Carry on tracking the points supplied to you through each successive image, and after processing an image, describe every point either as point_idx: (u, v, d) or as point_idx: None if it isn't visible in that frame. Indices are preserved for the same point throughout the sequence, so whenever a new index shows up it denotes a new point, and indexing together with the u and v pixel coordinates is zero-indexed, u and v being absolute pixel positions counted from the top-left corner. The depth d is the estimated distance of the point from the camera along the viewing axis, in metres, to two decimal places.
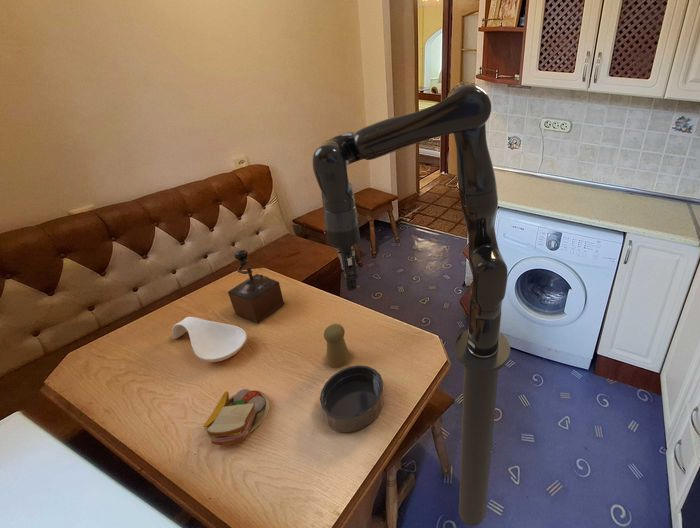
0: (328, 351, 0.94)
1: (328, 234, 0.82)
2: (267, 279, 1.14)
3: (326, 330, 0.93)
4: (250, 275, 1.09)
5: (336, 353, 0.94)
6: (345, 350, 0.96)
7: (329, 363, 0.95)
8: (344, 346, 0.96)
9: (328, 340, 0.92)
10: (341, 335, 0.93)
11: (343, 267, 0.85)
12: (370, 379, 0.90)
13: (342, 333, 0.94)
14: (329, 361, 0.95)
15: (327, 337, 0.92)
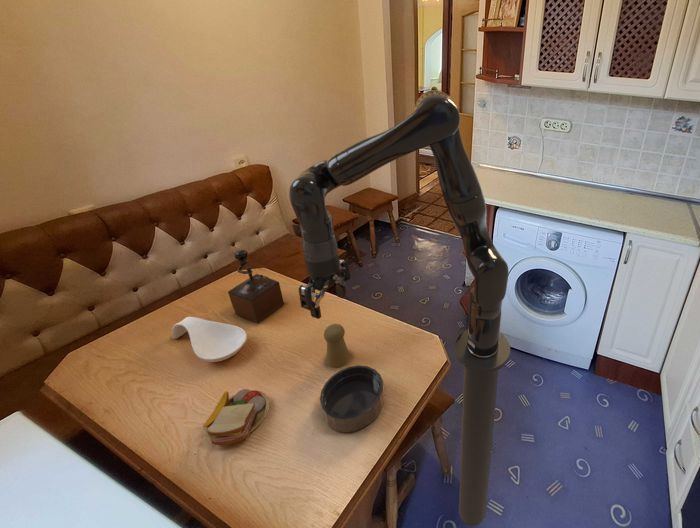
0: (328, 351, 0.94)
1: None
2: (267, 279, 1.14)
3: (326, 330, 0.93)
4: (250, 275, 1.09)
5: (336, 353, 0.94)
6: (345, 350, 0.96)
7: (329, 363, 0.95)
8: (344, 346, 0.96)
9: (328, 340, 0.92)
10: (341, 335, 0.93)
11: None
12: (370, 379, 0.90)
13: (342, 333, 0.94)
14: (329, 361, 0.95)
15: (327, 337, 0.92)
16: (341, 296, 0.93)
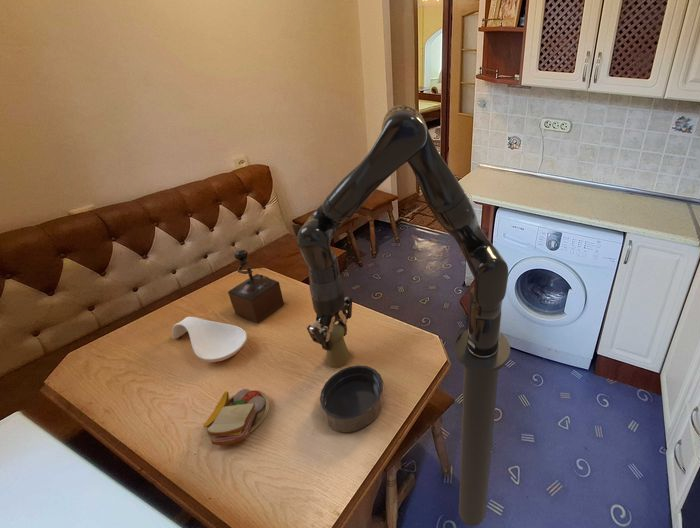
0: (328, 351, 0.94)
1: None
2: (267, 279, 1.14)
3: None
4: (250, 275, 1.09)
5: (336, 353, 0.94)
6: (345, 350, 0.96)
7: (329, 363, 0.95)
8: (344, 346, 0.96)
9: None
10: (341, 335, 0.93)
11: (319, 328, 0.91)
12: (370, 379, 0.90)
13: (342, 333, 0.94)
14: (329, 361, 0.95)
15: None
16: None
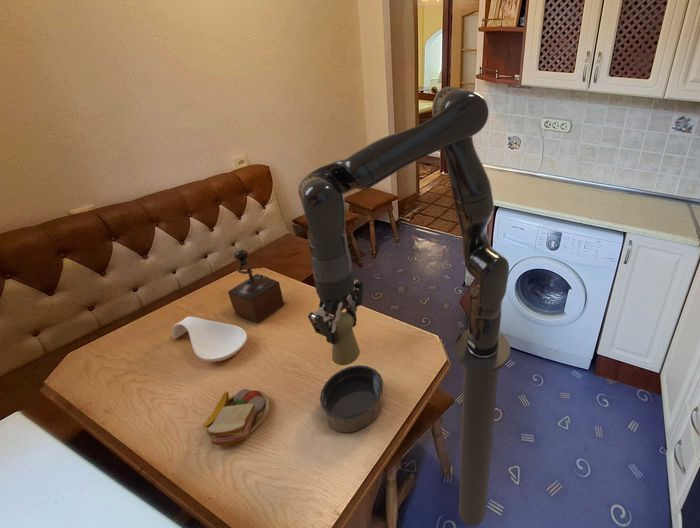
0: (334, 345, 0.78)
1: None
2: (267, 279, 1.14)
3: None
4: (250, 275, 1.09)
5: (344, 348, 0.77)
6: (354, 344, 0.80)
7: (335, 360, 0.79)
8: (353, 339, 0.79)
9: None
10: (350, 325, 0.76)
11: (323, 317, 0.74)
12: (370, 379, 0.90)
13: (351, 323, 0.77)
14: (335, 357, 0.79)
15: None
16: None
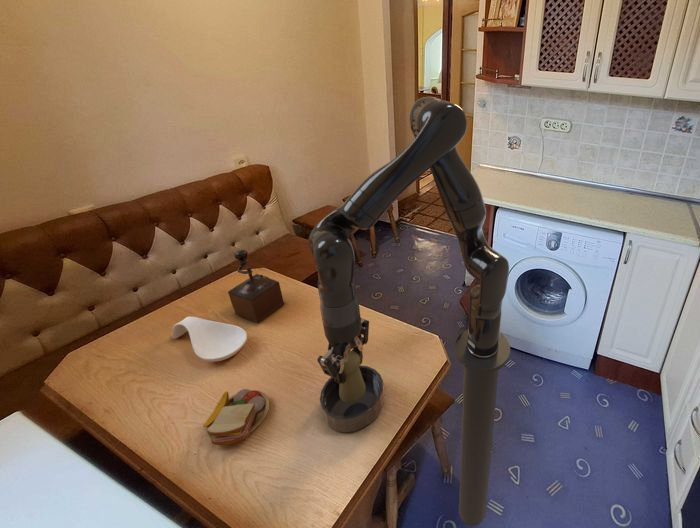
0: None
1: None
2: (267, 279, 1.14)
3: None
4: (250, 275, 1.09)
5: (351, 386, 0.80)
6: (361, 381, 0.82)
7: (342, 397, 0.81)
8: (360, 377, 0.82)
9: None
10: (357, 365, 0.79)
11: (331, 358, 0.76)
12: (370, 379, 0.90)
13: (358, 362, 0.79)
14: (342, 395, 0.81)
15: None
16: None
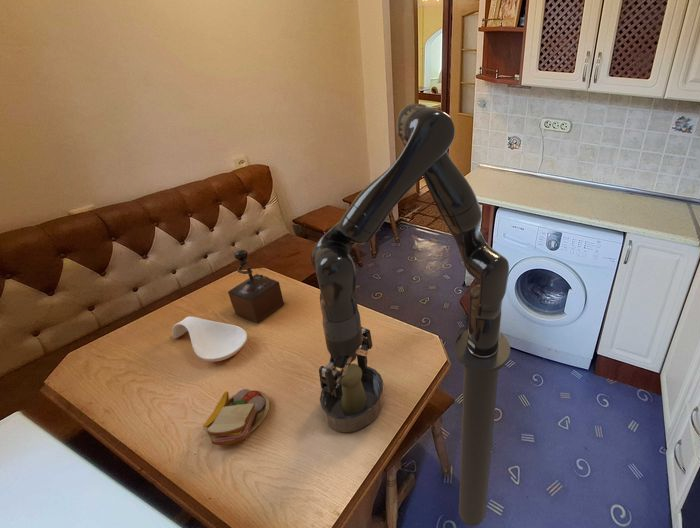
0: (343, 396, 0.82)
1: None
2: (267, 279, 1.14)
3: None
4: (250, 275, 1.09)
5: (353, 398, 0.82)
6: (362, 393, 0.84)
7: (344, 409, 0.83)
8: (361, 389, 0.83)
9: (344, 384, 0.80)
10: (358, 378, 0.81)
11: None
12: (370, 379, 0.90)
13: (359, 375, 0.81)
14: (344, 407, 0.83)
15: (343, 381, 0.79)
16: (363, 366, 0.85)
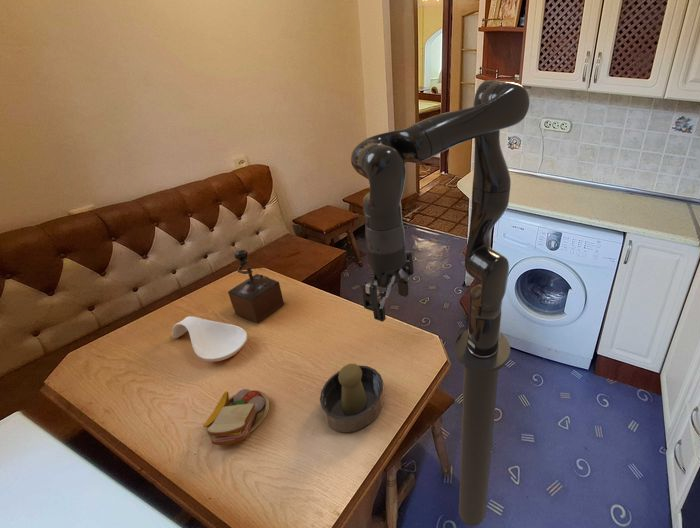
0: (343, 396, 0.82)
1: None
2: (267, 279, 1.14)
3: (341, 372, 0.81)
4: (250, 275, 1.09)
5: (353, 398, 0.82)
6: (362, 393, 0.84)
7: (344, 409, 0.83)
8: (361, 389, 0.83)
9: (344, 384, 0.80)
10: (358, 378, 0.81)
11: None
12: (370, 379, 0.90)
13: (359, 375, 0.81)
14: (344, 407, 0.83)
15: (343, 381, 0.79)
16: (404, 294, 0.79)
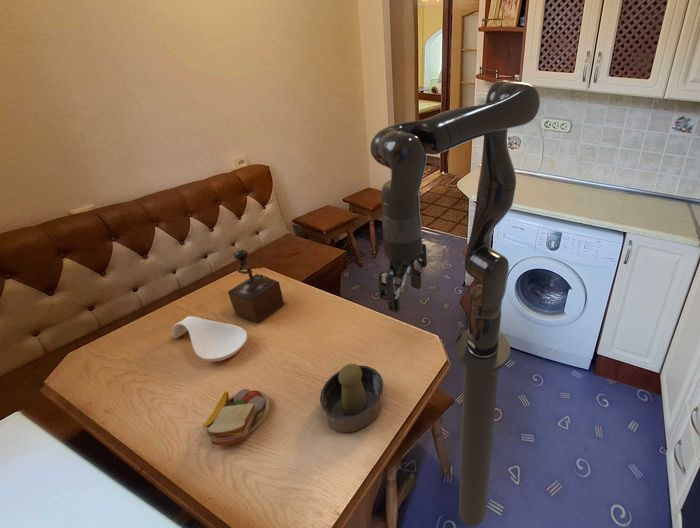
0: (343, 396, 0.82)
1: None
2: (267, 279, 1.14)
3: (341, 372, 0.81)
4: (250, 275, 1.09)
5: (353, 398, 0.82)
6: (362, 393, 0.84)
7: (344, 409, 0.83)
8: (361, 389, 0.83)
9: (344, 384, 0.80)
10: (358, 378, 0.81)
11: None
12: (370, 379, 0.90)
13: (359, 375, 0.81)
14: (344, 407, 0.83)
15: (343, 381, 0.79)
16: (416, 286, 0.79)
